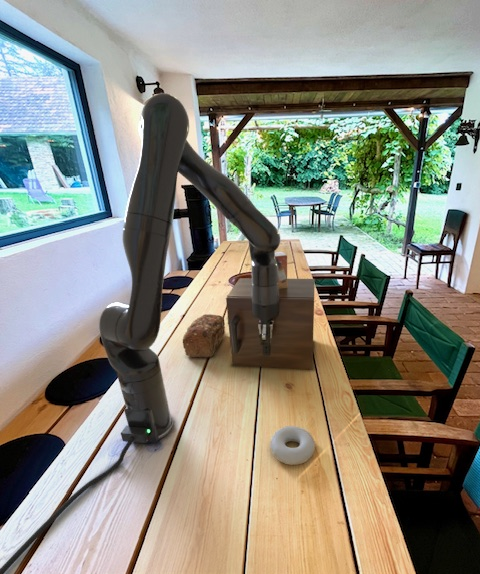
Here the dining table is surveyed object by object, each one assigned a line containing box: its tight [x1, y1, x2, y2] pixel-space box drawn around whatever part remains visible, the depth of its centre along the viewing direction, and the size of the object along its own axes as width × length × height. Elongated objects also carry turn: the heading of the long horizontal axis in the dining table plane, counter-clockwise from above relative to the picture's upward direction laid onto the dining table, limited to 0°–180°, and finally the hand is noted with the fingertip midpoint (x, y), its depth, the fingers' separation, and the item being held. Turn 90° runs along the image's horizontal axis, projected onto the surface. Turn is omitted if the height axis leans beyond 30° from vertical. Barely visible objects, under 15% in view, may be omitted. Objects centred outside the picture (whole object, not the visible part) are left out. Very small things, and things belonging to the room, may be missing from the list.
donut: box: [269, 425, 316, 466], centre depth 72 cm, size 10×4×10 cm
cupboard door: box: [225, 296, 315, 370], centre depth 96 cm, size 7×26×24 cm, turn 82°
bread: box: [182, 313, 226, 359], centre depth 117 cm, size 19×11×10 cm, turn 172°
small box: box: [275, 251, 288, 289], centre depth 100 cm, size 8×6×10 cm
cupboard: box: [226, 277, 316, 299], centre depth 108 cm, size 18×26×24 cm
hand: (266, 354), depth 94 cm, fingers closed
